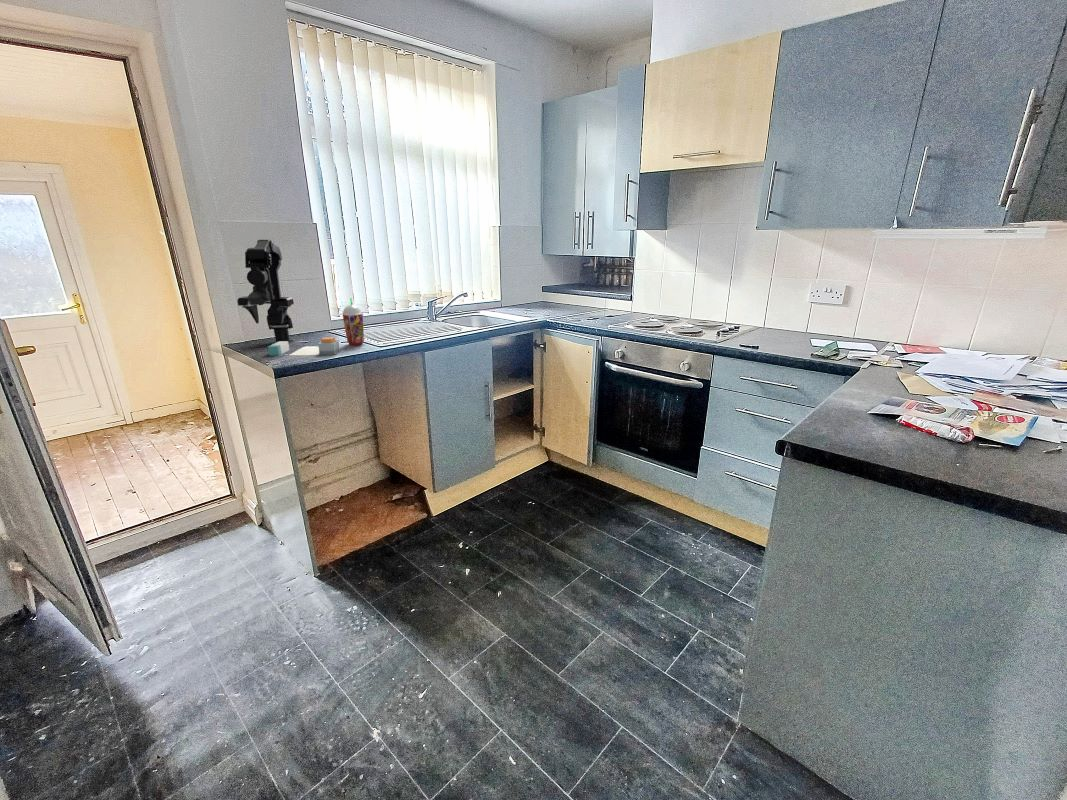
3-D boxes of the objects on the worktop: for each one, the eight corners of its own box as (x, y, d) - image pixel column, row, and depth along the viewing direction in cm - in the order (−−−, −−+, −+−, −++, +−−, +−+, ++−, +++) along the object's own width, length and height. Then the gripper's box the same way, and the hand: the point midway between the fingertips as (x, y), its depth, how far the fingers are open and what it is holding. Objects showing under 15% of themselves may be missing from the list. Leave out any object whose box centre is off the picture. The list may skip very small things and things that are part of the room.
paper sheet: (304, 346, 199) (304, 346, 198) (330, 346, 199) (330, 346, 199) (288, 355, 183) (288, 355, 183) (317, 355, 184) (317, 355, 184)
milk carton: (280, 349, 192) (279, 341, 191) (289, 349, 193) (288, 341, 191) (269, 355, 183) (267, 346, 182) (278, 355, 183) (277, 346, 182)
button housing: (324, 351, 191) (323, 340, 189) (339, 351, 191) (338, 340, 190) (319, 354, 185) (318, 343, 184) (335, 354, 186) (333, 343, 184)
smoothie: (364, 346, 201) (359, 299, 194) (344, 346, 199) (338, 299, 193) (367, 342, 208) (362, 297, 202) (348, 342, 207) (342, 297, 201)
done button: (325, 344, 189) (324, 337, 188) (335, 344, 189) (334, 337, 188) (321, 346, 185) (320, 339, 184) (332, 346, 186) (331, 339, 185)
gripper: (225, 284, 169) (233, 327, 175) (277, 285, 170) (284, 327, 176) (241, 281, 180) (249, 321, 185) (291, 282, 181) (297, 322, 186)
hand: (269, 323), depth 183 cm, fingers open, 9 cm apart
